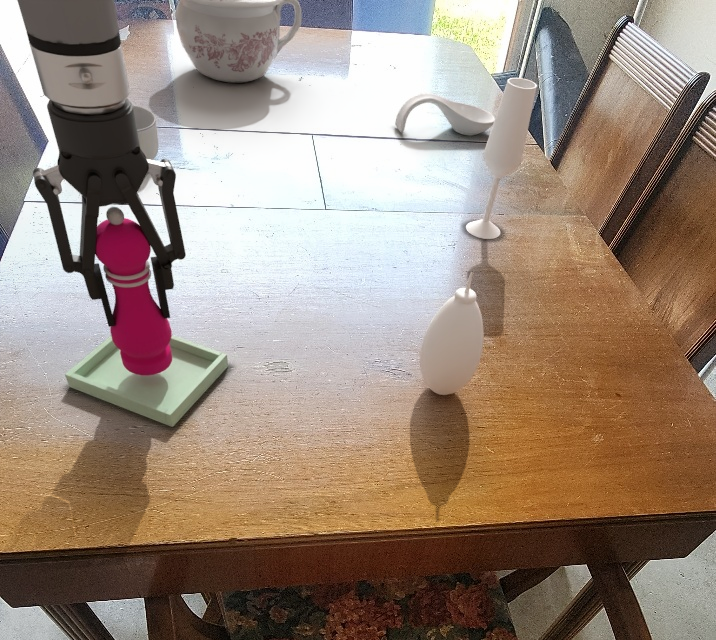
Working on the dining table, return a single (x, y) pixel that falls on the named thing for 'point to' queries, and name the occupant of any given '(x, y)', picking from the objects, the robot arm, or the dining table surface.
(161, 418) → the tray
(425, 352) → the sauce bottle
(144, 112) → the teacup
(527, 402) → the dining table surface
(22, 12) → the robot arm
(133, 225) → the pepper mill
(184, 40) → the chamber pot
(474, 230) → the champagne flute
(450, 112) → the spoon rest
